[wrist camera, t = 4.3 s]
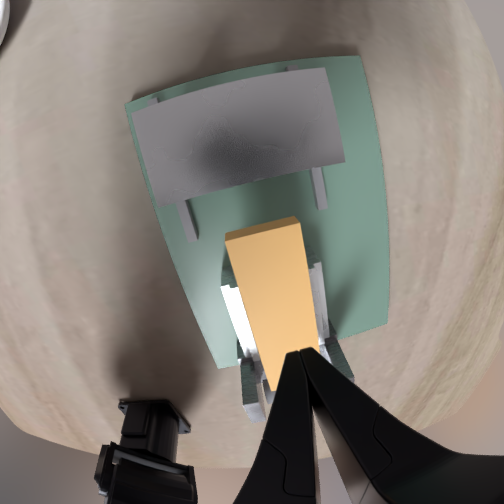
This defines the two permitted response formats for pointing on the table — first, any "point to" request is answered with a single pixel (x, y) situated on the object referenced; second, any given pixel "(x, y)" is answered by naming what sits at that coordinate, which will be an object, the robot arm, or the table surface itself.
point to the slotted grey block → (240, 315)
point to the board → (290, 213)
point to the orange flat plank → (274, 291)
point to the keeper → (238, 134)
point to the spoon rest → (4, 17)
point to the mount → (256, 374)
